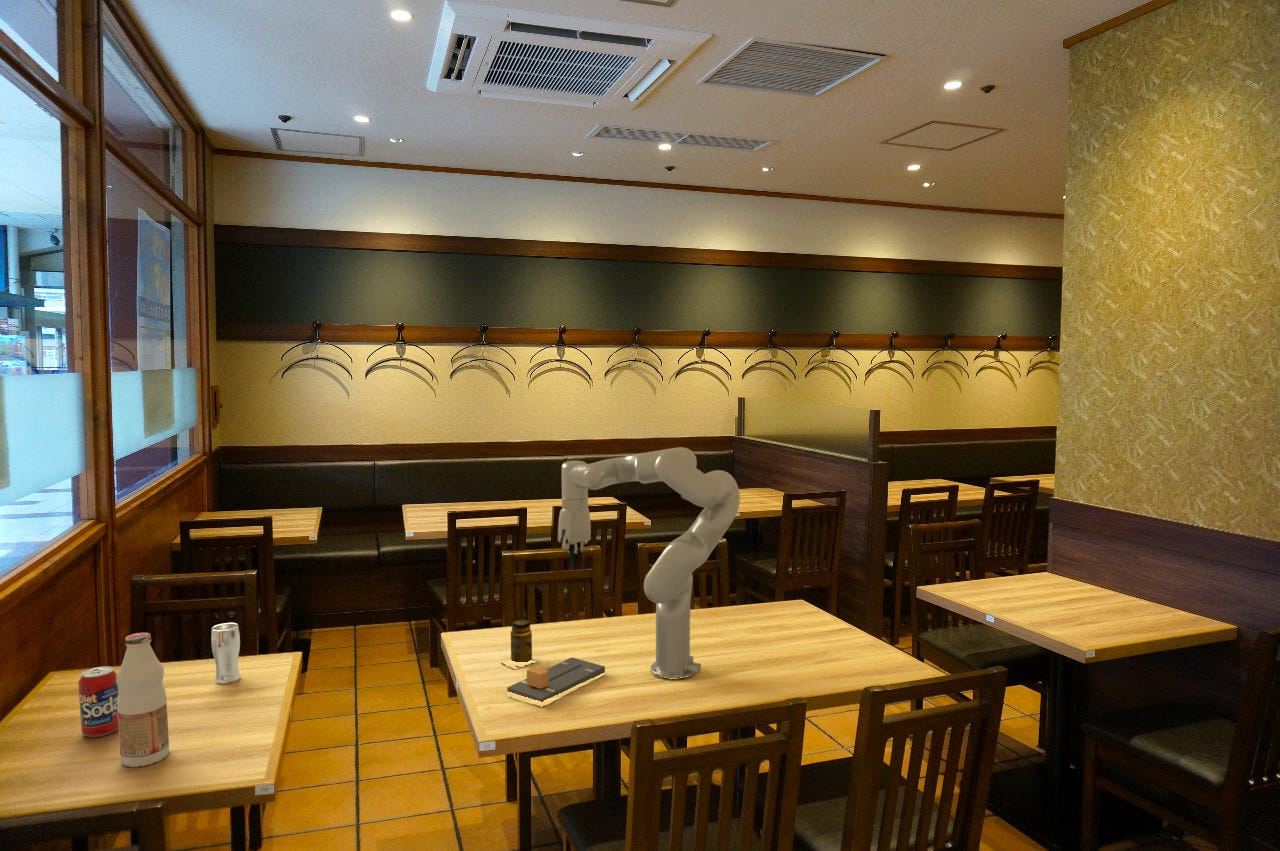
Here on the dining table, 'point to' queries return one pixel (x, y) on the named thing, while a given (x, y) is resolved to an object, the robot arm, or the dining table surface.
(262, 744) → the dining table surface
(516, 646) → the condiment
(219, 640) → the beer glass
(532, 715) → the dining table surface
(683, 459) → the robot arm
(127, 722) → the fruit juice
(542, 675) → the fader tab
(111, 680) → the soda can
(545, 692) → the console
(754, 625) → the dining table surface
